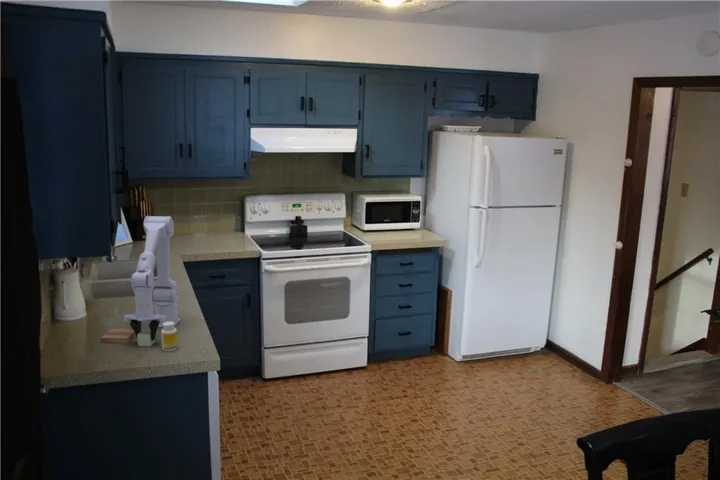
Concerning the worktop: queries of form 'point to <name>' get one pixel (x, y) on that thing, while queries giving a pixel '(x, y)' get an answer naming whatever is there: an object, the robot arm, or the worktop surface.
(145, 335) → the sage block
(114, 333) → the brown square pad
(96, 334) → the worktop surface
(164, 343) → the supplement bottle
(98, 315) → the worktop surface
